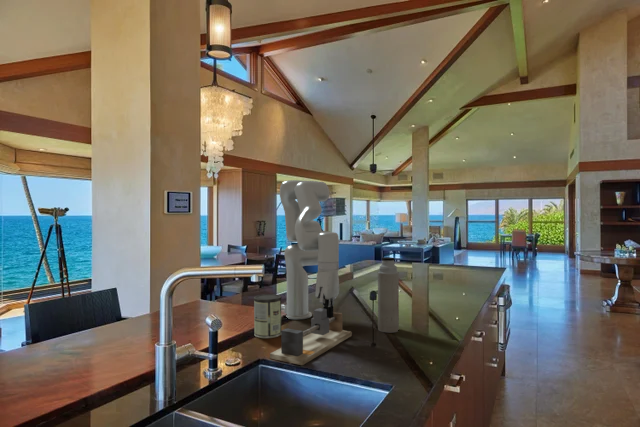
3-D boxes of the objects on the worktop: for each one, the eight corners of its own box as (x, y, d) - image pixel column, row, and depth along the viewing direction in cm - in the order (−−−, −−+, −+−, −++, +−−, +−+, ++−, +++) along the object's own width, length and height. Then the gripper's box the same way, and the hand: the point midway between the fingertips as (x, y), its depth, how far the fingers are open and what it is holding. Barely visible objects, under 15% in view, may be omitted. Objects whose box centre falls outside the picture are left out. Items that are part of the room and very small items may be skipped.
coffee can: (261, 329, 156) (261, 293, 156) (286, 331, 153) (286, 294, 153) (248, 336, 146) (248, 298, 147) (274, 339, 143) (274, 300, 143)
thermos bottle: (398, 327, 159) (398, 256, 159) (398, 333, 151) (398, 258, 151) (378, 326, 160) (378, 256, 160) (377, 332, 152) (377, 258, 153)
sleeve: (311, 333, 139) (311, 310, 139) (316, 330, 143) (316, 307, 143) (323, 335, 137) (323, 311, 137) (329, 332, 140) (329, 309, 140)
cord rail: (269, 358, 124) (269, 330, 124) (323, 331, 154) (323, 308, 154) (302, 365, 118) (302, 336, 118) (351, 335, 148) (351, 312, 148)
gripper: (328, 263, 153) (329, 311, 153) (308, 268, 140) (308, 320, 140) (346, 264, 149) (346, 314, 149) (327, 269, 136) (327, 323, 136)
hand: (328, 317), depth 145 cm, fingers closed
